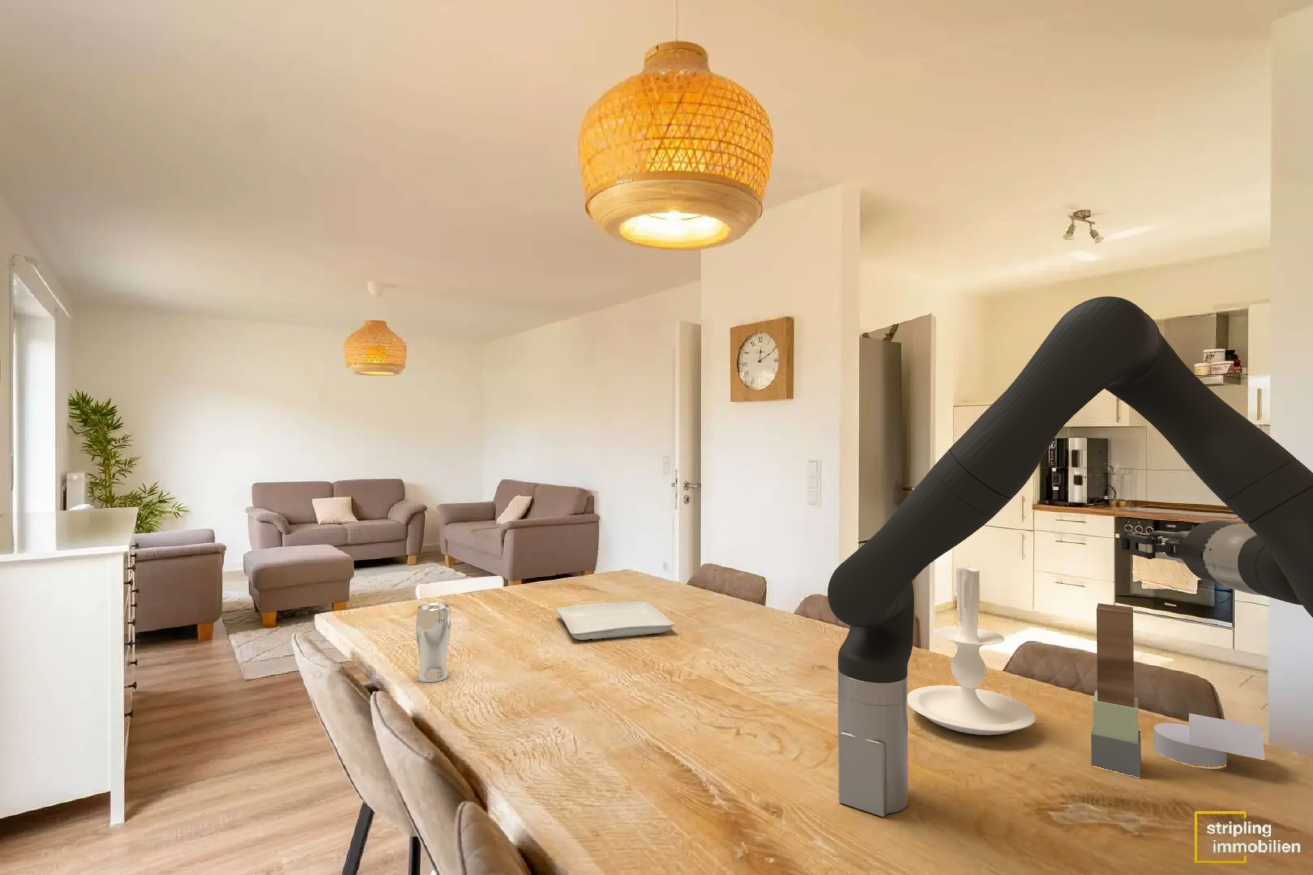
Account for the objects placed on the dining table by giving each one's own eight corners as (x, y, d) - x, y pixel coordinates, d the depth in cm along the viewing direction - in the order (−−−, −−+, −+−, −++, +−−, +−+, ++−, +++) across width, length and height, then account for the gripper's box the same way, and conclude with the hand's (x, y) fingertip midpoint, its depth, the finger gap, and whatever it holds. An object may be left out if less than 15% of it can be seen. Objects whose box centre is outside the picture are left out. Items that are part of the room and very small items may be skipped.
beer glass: (408, 679, 141) (408, 607, 141) (433, 670, 147) (434, 601, 147) (432, 685, 138) (433, 611, 138) (457, 675, 144) (457, 604, 144)
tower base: (1140, 778, 99) (1139, 744, 99) (1091, 767, 103) (1091, 734, 103) (1141, 763, 104) (1140, 730, 104) (1094, 753, 107) (1094, 721, 107)
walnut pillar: (1133, 707, 100) (1132, 612, 100) (1097, 700, 103) (1096, 608, 103) (1134, 698, 104) (1133, 607, 104) (1099, 692, 106) (1098, 603, 107)
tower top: (1137, 743, 99) (1137, 709, 100) (1093, 734, 103) (1093, 700, 103) (1138, 730, 104) (1137, 697, 104) (1095, 722, 107) (1095, 690, 107)
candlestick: (1030, 705, 127) (1029, 556, 128) (1040, 759, 105) (1039, 579, 105) (913, 688, 136) (913, 549, 137) (900, 735, 114) (899, 568, 114)
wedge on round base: (1258, 760, 105) (1154, 738, 113) (1258, 717, 105) (1154, 698, 113) (1265, 783, 98) (1153, 758, 105) (1264, 736, 98) (1153, 715, 106)
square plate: (554, 619, 192) (554, 606, 192) (646, 612, 200) (646, 599, 200) (571, 646, 166) (571, 630, 166) (676, 637, 174) (676, 622, 174)
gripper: (1312, 525, 76) (1213, 511, 92) (1173, 523, 78) (1100, 510, 94) (1313, 592, 76) (1214, 567, 92) (1174, 588, 77) (1101, 564, 94)
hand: (1157, 538), depth 93 cm, fingers open, 8 cm apart
